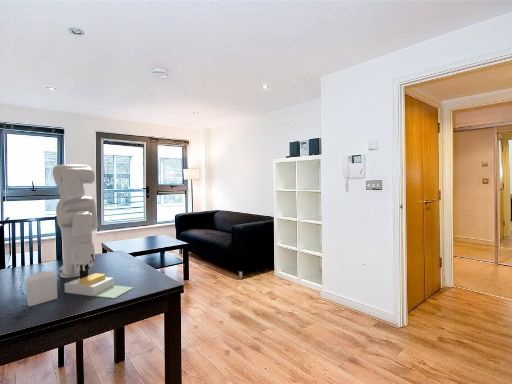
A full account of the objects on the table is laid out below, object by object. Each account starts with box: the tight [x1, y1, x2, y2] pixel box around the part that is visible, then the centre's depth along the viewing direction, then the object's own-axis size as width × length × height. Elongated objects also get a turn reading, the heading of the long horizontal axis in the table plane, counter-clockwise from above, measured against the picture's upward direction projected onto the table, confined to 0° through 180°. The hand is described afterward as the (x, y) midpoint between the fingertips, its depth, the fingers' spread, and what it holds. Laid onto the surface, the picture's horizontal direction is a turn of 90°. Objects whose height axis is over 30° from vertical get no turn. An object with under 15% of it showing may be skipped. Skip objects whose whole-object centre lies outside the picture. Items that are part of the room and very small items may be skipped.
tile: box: [79, 272, 107, 285], centre depth 132 cm, size 6×9×2 cm, turn 164°
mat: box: [93, 284, 134, 300], centre depth 129 cm, size 11×12×1 cm
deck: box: [64, 274, 115, 297], centre depth 133 cm, size 16×12×4 cm
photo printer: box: [26, 270, 59, 307], centre depth 119 cm, size 10×4×12 cm, turn 140°
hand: (84, 278), depth 133 cm, fingers closed
